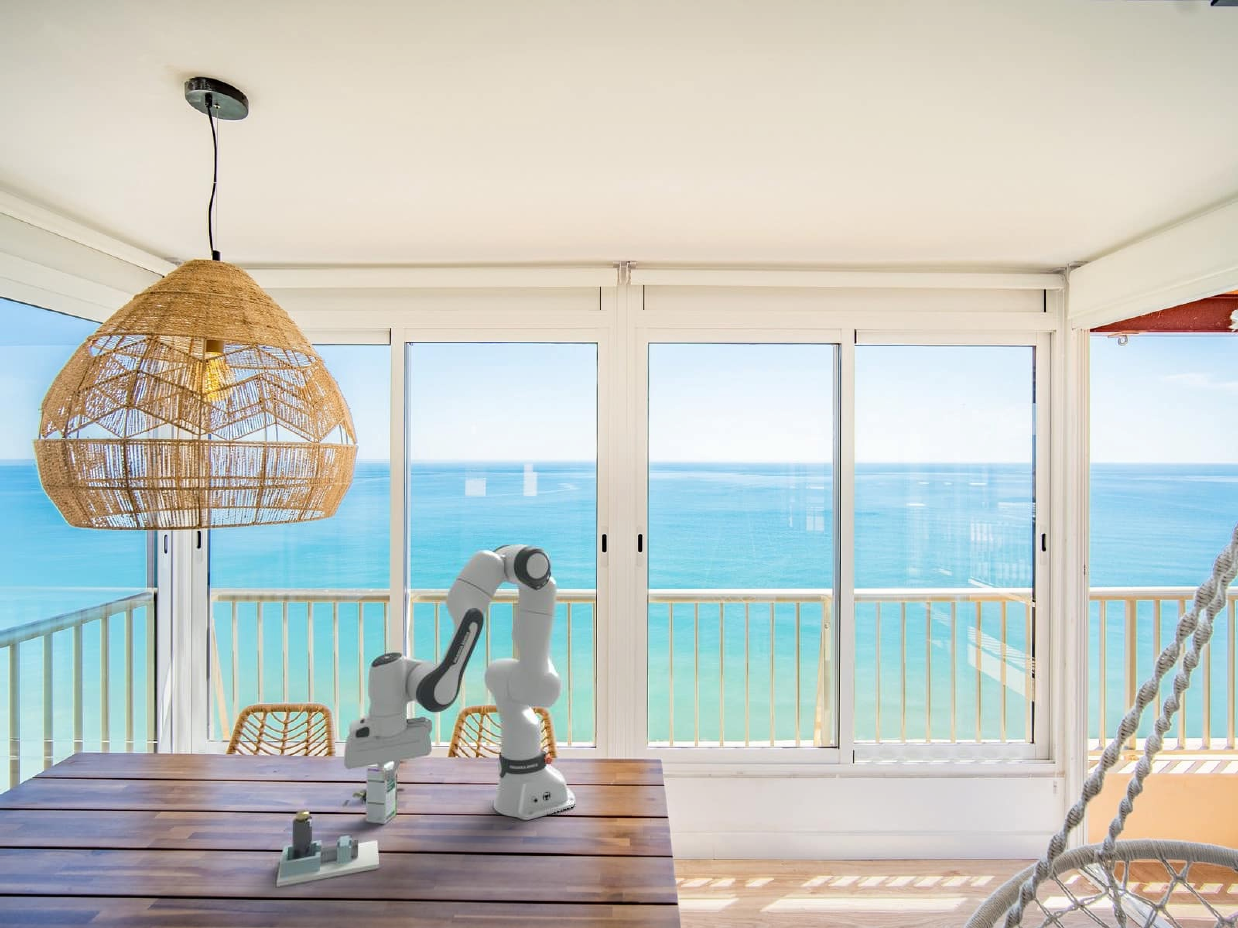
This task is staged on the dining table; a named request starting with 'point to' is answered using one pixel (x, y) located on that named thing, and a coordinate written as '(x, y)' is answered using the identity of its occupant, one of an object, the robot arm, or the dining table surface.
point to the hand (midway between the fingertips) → (388, 779)
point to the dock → (327, 862)
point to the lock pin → (331, 852)
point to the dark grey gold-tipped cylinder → (302, 835)
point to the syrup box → (380, 795)
